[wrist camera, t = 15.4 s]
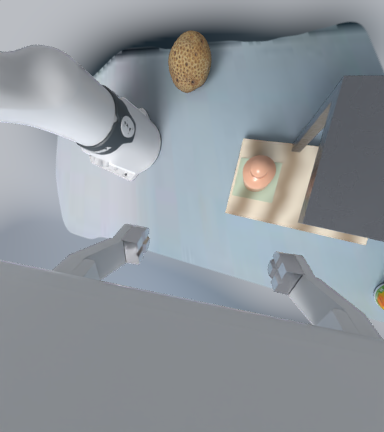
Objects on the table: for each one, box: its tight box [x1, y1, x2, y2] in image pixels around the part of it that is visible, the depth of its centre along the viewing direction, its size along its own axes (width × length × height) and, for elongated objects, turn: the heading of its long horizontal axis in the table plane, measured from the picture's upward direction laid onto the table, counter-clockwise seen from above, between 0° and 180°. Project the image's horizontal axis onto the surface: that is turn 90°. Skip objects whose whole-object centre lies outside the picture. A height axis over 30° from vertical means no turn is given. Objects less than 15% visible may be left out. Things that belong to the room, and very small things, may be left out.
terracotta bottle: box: [243, 155, 276, 192], centre depth 29 cm, size 5×5×10 cm
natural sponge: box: [168, 31, 211, 93], centre depth 35 cm, size 9×9×10 cm
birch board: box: [225, 139, 368, 245], centre depth 33 cm, size 25×16×2 cm, turn 77°
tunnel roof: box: [291, 76, 384, 242], centre depth 23 cm, size 12×15×16 cm
